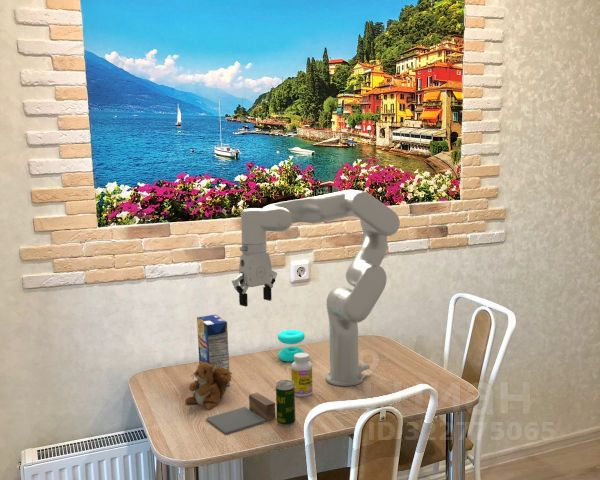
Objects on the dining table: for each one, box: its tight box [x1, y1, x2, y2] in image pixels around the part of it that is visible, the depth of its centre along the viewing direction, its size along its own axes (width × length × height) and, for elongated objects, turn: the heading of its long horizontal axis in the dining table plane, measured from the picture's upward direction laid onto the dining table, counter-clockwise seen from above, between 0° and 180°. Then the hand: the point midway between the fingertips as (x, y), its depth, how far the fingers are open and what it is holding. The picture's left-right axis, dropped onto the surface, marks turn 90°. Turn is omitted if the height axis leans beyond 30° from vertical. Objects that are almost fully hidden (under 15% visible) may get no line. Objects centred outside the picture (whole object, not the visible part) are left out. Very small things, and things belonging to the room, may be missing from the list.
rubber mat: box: [205, 406, 267, 435], centre depth 186 cm, size 13×12×1 cm
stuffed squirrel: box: [184, 361, 233, 410], centre depth 200 cm, size 10×14×13 cm
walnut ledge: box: [248, 392, 276, 421], centre depth 191 cm, size 3×10×4 cm, turn 35°
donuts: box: [277, 329, 306, 363], centre depth 238 cm, size 10×10×10 cm
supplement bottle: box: [290, 352, 313, 398], centre depth 204 cm, size 7×7×13 cm
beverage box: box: [196, 314, 231, 387], centre depth 215 cm, size 7×11×22 cm, turn 27°
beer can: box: [275, 379, 296, 428], centre depth 183 cm, size 5×5×12 cm
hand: (255, 302), depth 199 cm, fingers open, 9 cm apart
